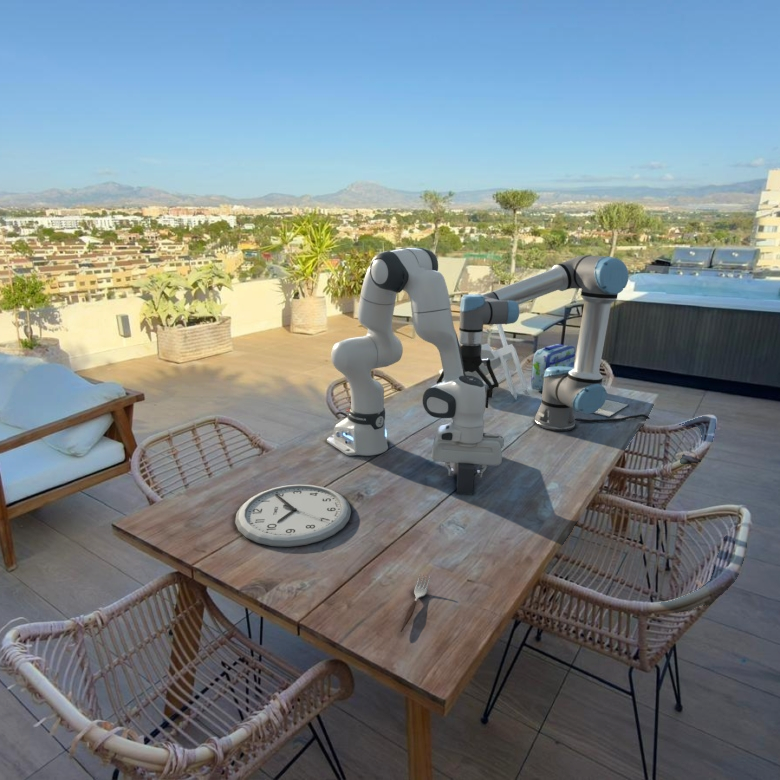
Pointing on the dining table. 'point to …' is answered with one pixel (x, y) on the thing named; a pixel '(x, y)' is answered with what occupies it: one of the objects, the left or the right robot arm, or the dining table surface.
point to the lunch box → (550, 362)
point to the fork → (418, 593)
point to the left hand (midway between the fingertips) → (465, 475)
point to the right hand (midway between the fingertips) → (466, 405)
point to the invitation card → (610, 408)
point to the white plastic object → (501, 357)
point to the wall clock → (293, 515)
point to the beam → (465, 478)
